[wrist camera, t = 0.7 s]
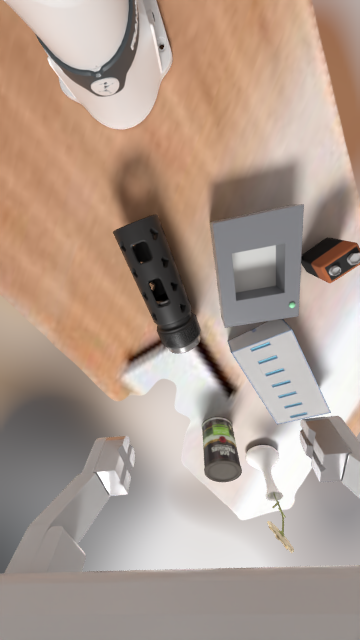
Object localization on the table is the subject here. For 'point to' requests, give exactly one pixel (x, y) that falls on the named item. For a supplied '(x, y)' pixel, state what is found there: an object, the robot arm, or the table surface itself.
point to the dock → (258, 265)
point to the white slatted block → (279, 372)
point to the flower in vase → (269, 482)
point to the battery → (331, 259)
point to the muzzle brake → (159, 282)
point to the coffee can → (220, 450)
